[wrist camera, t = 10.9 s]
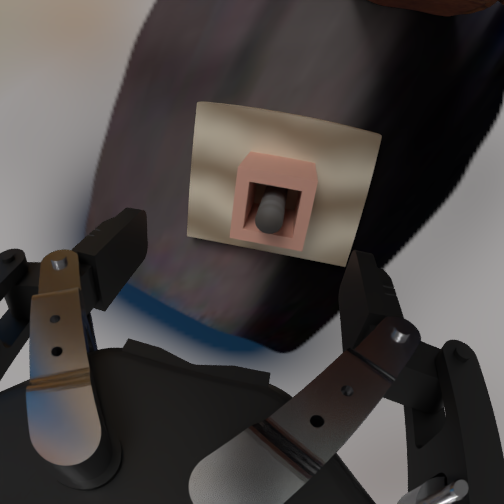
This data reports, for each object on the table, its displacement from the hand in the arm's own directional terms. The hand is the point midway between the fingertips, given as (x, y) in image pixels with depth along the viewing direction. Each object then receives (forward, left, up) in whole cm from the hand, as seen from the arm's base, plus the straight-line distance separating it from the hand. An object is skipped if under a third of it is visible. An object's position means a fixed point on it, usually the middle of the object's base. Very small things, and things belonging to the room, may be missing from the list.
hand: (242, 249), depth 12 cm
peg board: (+3, 0, -20) cm, 20 cm away
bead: (+3, 0, -19) cm, 19 cm away
